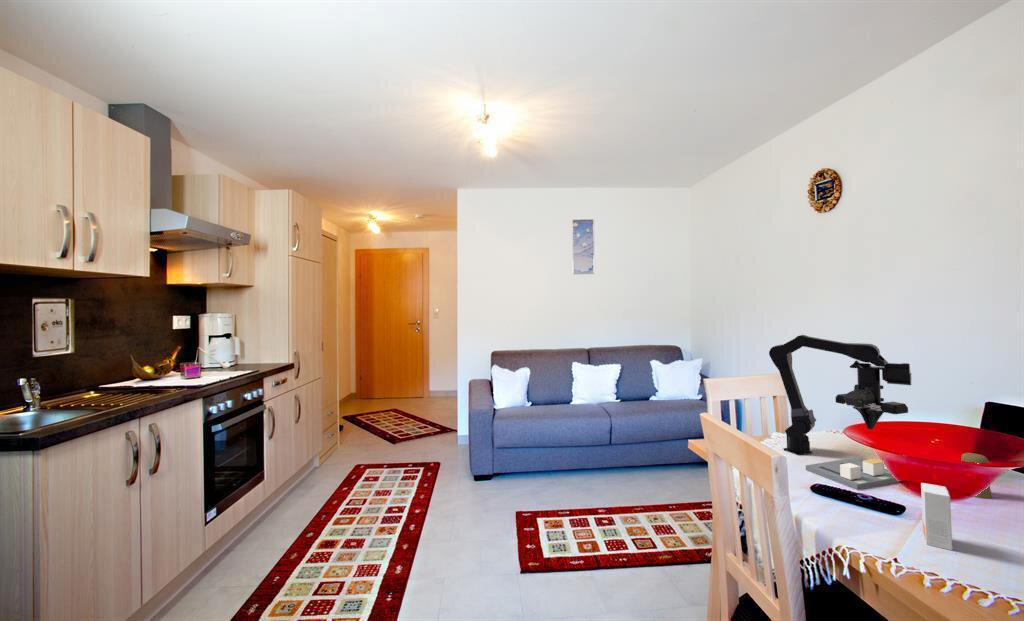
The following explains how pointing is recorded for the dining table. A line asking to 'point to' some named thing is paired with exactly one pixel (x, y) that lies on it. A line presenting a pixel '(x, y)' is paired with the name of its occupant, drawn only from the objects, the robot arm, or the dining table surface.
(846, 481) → the panel
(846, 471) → the block
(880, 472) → the block
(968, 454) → the cork
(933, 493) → the skincare box
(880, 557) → the dining table surface
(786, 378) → the robot arm
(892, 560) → the dining table surface
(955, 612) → the dining table surface
